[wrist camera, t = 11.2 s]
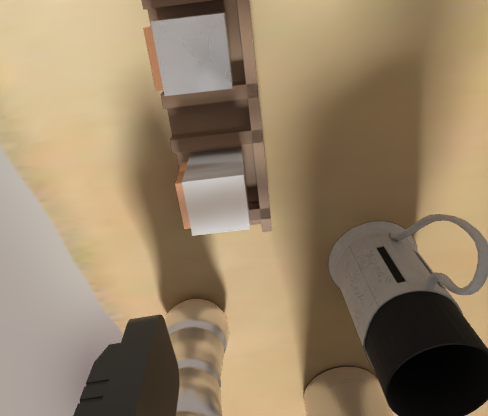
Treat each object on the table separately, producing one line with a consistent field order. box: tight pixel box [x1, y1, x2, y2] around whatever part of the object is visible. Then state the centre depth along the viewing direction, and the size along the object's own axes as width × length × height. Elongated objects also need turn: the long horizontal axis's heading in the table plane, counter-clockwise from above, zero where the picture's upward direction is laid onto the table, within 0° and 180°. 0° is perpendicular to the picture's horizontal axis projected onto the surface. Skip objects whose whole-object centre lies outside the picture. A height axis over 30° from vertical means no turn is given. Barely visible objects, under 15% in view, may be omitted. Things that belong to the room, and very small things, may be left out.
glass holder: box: [328, 214, 488, 416], centre depth 33 cm, size 9×14×15 cm, turn 170°
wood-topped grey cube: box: [143, 12, 232, 96], centre depth 27 cm, size 4×5×6 cm
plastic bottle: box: [165, 299, 229, 416], centre depth 34 cm, size 6×7×20 cm
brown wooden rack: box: [142, 0, 272, 236], centre depth 30 cm, size 20×7×8 cm, turn 7°
